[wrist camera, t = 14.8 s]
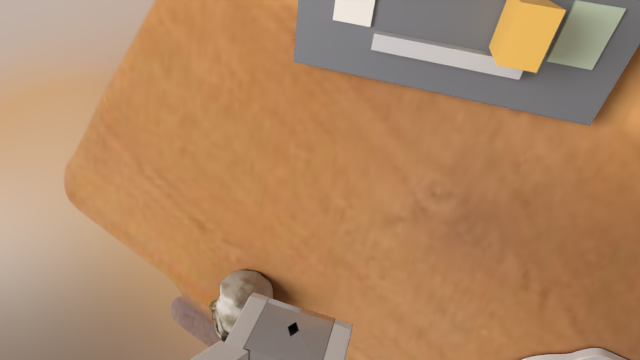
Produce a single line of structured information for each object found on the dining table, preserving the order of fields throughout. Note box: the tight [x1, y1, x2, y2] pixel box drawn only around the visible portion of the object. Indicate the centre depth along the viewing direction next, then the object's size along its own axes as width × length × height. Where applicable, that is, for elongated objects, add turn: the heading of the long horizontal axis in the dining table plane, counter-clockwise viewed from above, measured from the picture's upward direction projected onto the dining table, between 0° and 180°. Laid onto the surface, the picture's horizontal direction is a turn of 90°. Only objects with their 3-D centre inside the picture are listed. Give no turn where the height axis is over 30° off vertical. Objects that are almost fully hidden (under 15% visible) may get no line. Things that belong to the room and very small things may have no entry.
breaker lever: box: [489, 0, 566, 73], centre depth 24 cm, size 2×4×5 cm, turn 172°
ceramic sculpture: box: [209, 270, 273, 342], centre depth 52 cm, size 11×9×15 cm
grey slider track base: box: [294, 0, 640, 126], centre depth 27 cm, size 24×12×3 cm, turn 82°
